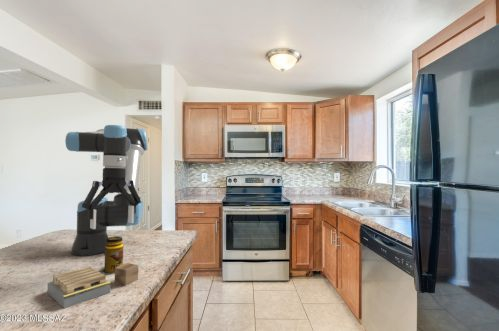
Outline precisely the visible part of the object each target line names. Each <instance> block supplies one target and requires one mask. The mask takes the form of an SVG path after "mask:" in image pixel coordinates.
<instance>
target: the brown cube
mask: <svg viewBox="0 0 499 331" xmlns="http://www.w3.org/2000/svg"><path fill="white" fill-rule="evenodd" d="M138 280H139V264H135V263H130V262H126V263H123V265H121V266H118V267H116V268H115V274H114V284H117V285H121V286H129V285H130V284H133V283H134V282H137V281H138Z"/></svg>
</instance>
